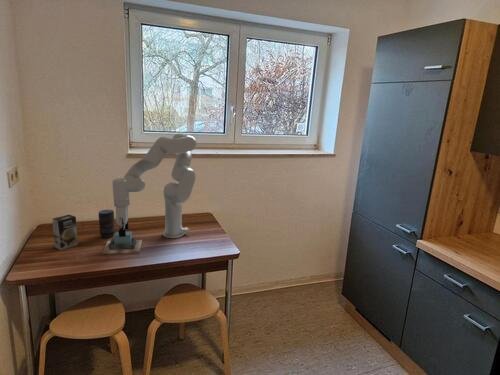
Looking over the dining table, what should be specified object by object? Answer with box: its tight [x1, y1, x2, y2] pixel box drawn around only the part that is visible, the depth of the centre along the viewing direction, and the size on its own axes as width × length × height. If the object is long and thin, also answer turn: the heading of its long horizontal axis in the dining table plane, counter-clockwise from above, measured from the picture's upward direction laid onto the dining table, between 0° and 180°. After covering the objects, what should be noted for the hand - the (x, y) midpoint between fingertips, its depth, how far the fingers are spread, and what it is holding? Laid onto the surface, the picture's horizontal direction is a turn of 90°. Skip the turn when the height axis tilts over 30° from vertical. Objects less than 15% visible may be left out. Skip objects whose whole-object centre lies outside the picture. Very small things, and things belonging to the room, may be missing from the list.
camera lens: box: [98, 209, 116, 239], centre depth 188 cm, size 8×8×15 cm
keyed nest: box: [102, 237, 143, 255], centre depth 177 cm, size 18×14×4 cm
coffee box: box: [52, 214, 79, 251], centre depth 173 cm, size 9×6×16 cm
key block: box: [113, 230, 133, 244], centre depth 176 cm, size 5×8×7 cm, turn 102°
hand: (123, 232), depth 176 cm, fingers open, 9 cm apart
